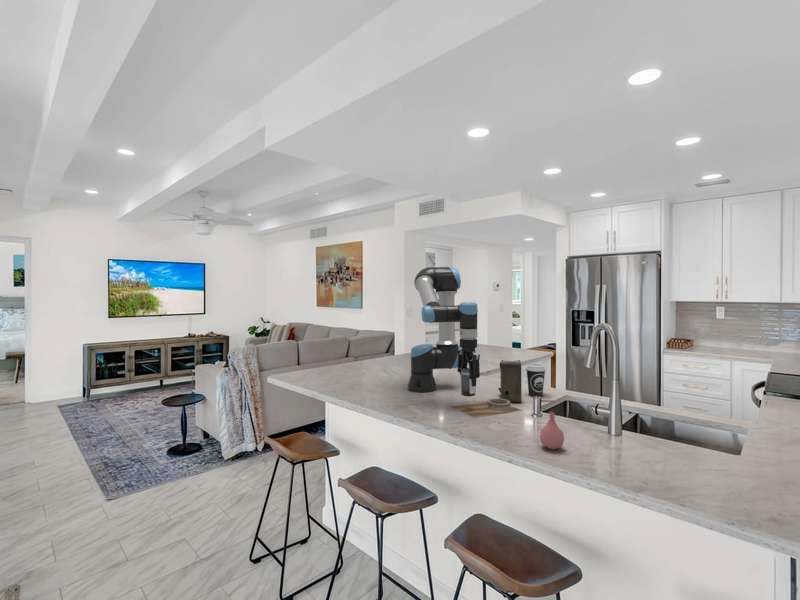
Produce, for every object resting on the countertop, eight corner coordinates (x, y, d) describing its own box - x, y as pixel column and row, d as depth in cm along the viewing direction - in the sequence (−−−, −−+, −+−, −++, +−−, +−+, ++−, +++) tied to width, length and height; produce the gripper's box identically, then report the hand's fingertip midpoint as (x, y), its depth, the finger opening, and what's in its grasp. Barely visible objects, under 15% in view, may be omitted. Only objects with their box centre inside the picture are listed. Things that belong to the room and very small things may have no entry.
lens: (458, 393, 182) (458, 368, 182) (470, 391, 185) (470, 366, 184) (466, 397, 177) (466, 370, 176) (478, 395, 179) (478, 369, 179)
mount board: (451, 409, 184) (451, 400, 184) (495, 403, 194) (495, 393, 194) (475, 421, 168) (475, 411, 167) (522, 413, 178) (522, 403, 178)
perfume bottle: (541, 442, 145) (541, 408, 144) (565, 446, 142) (565, 410, 141) (538, 450, 138) (538, 414, 137) (563, 454, 135) (563, 417, 134)
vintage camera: (516, 396, 208) (515, 356, 208) (522, 403, 193) (521, 360, 193) (496, 396, 209) (495, 356, 209) (501, 403, 194) (500, 360, 194)
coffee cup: (547, 394, 208) (548, 364, 208) (543, 399, 200) (543, 368, 200) (528, 392, 213) (528, 363, 213) (523, 396, 205) (523, 366, 205)
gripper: (449, 336, 187) (449, 387, 188) (473, 342, 169) (473, 398, 171) (463, 334, 190) (463, 385, 191) (489, 340, 173) (488, 395, 174)
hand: (468, 391), depth 181 cm, fingers closed on lens, 6 cm apart
